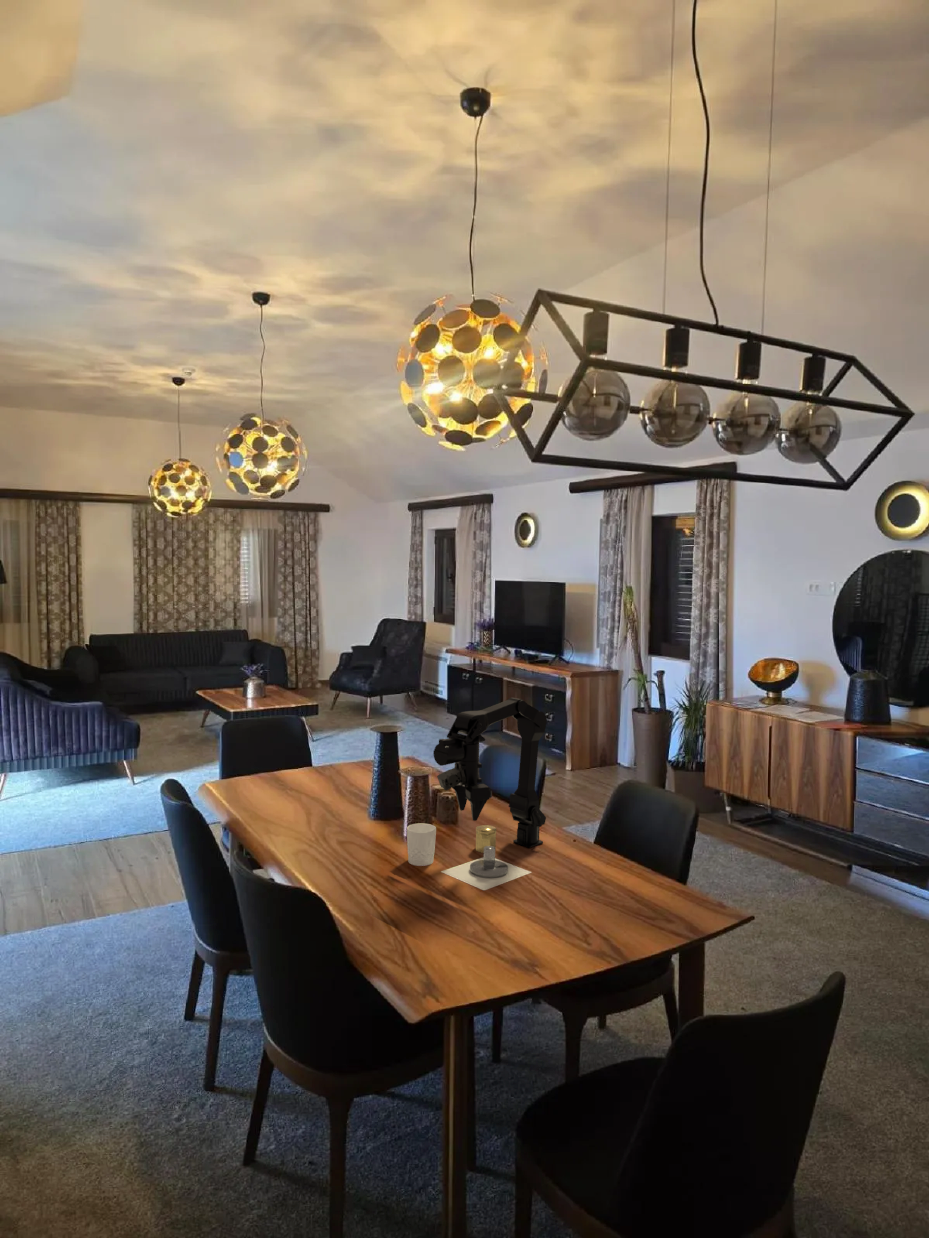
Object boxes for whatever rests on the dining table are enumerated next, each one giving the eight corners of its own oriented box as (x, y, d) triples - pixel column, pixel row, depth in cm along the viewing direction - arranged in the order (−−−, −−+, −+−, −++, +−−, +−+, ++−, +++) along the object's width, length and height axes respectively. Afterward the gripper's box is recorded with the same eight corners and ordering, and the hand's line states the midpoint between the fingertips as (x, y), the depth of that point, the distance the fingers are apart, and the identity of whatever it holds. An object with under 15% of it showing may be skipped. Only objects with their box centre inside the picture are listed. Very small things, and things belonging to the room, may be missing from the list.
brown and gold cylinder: (485, 846, 227) (485, 823, 227) (499, 852, 223) (500, 828, 222) (471, 851, 223) (471, 827, 223) (485, 857, 219) (486, 833, 218)
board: (488, 858, 218) (488, 855, 218) (531, 875, 206) (531, 872, 206) (440, 874, 205) (440, 871, 205) (483, 893, 194) (484, 890, 194)
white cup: (417, 856, 218) (417, 821, 217) (440, 862, 214) (441, 826, 213) (400, 865, 211) (401, 828, 211) (424, 871, 207) (425, 834, 207)
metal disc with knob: (488, 861, 214) (489, 838, 213) (515, 871, 206) (516, 848, 206) (462, 870, 207) (462, 847, 206) (489, 881, 200) (490, 857, 199)
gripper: (429, 753, 218) (429, 808, 219) (453, 770, 201) (453, 829, 202) (466, 750, 222) (465, 804, 224) (493, 766, 205) (492, 824, 206)
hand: (468, 815), depth 214 cm, fingers open, 9 cm apart
